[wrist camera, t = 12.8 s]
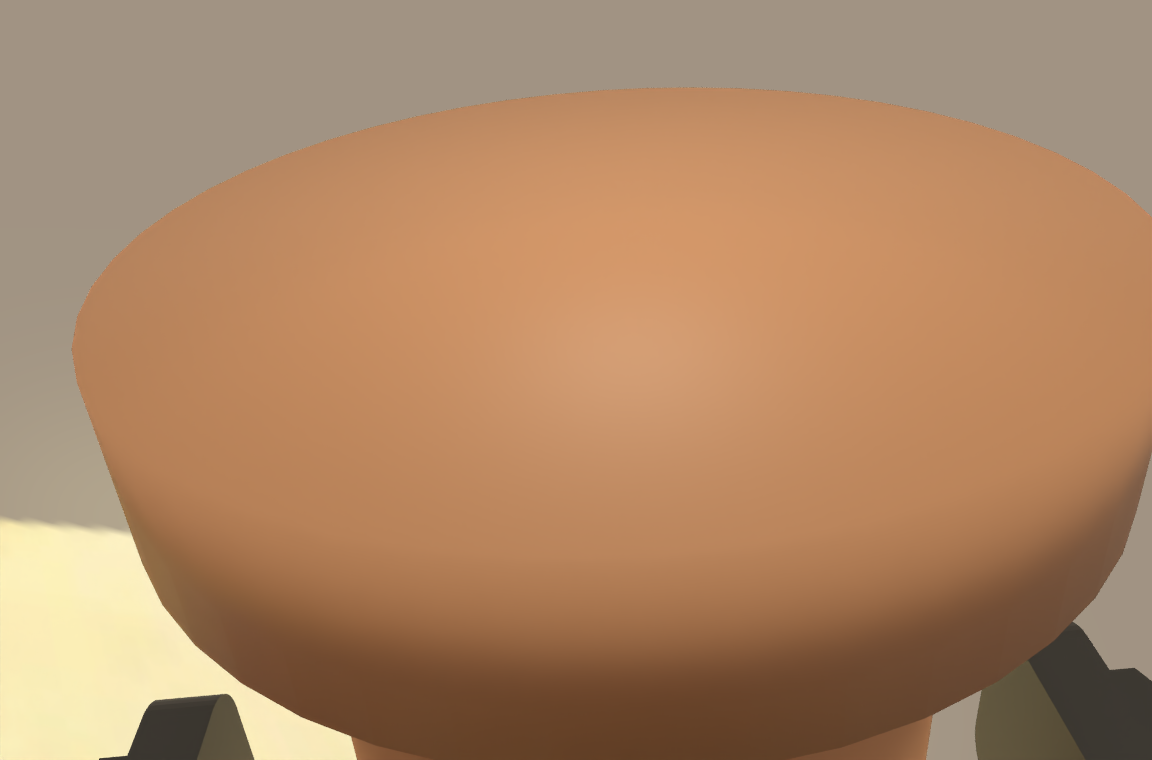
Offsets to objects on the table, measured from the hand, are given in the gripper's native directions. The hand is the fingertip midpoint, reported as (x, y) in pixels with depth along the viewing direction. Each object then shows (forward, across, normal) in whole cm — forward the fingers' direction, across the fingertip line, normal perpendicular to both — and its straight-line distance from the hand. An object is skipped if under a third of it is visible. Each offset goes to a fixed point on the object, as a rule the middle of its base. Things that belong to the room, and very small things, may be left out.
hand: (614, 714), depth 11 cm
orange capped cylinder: (-2, 0, +11) cm, 11 cm away
